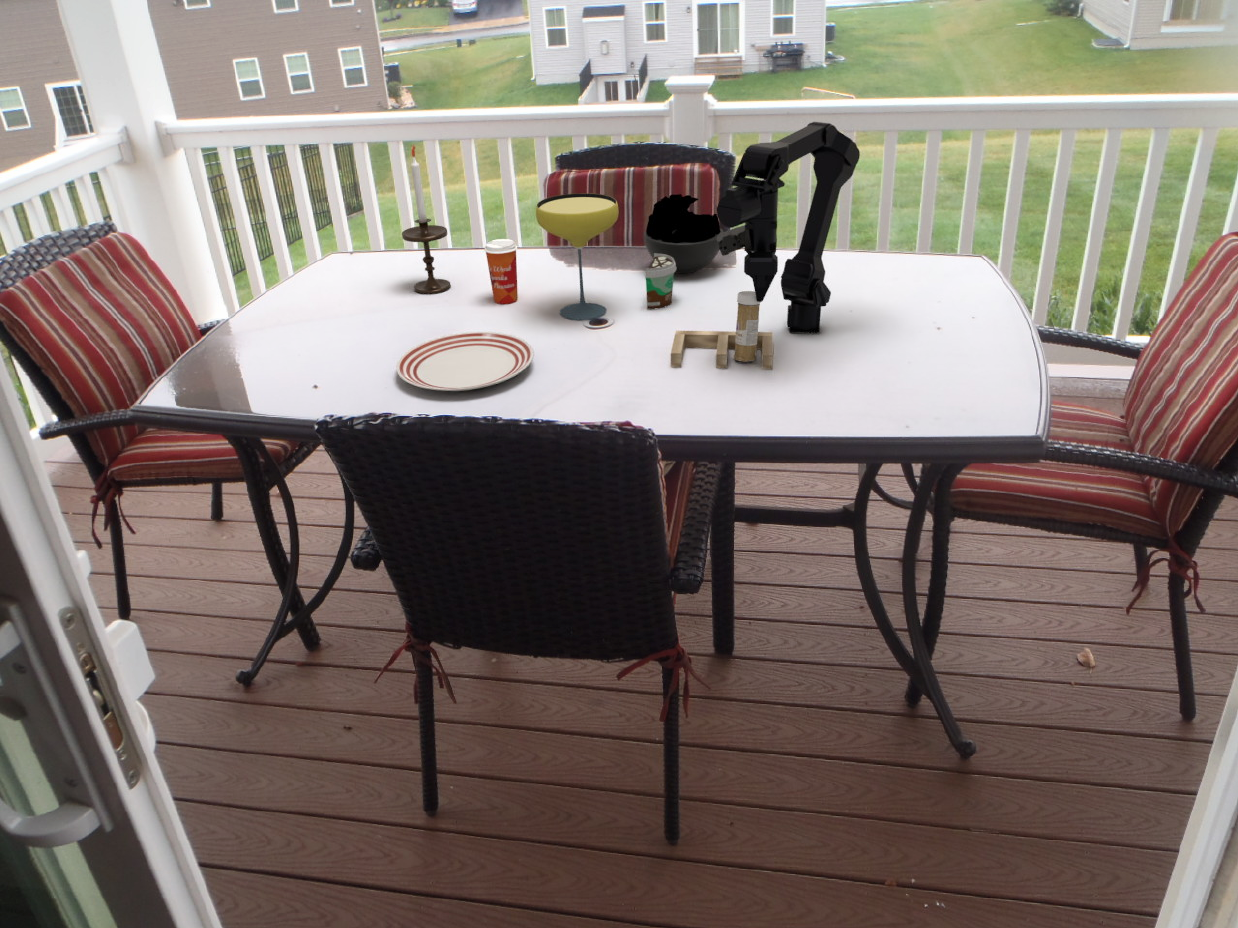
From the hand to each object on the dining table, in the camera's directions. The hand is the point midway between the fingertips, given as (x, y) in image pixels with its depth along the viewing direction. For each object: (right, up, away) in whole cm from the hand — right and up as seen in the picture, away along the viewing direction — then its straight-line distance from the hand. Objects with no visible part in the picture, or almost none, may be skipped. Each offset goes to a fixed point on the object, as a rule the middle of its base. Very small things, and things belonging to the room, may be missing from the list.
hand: (759, 293), depth 184 cm
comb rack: (-7, -12, +5) cm, 15 cm away
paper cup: (-55, +5, +39) cm, 68 cm away
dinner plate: (-59, -15, +4) cm, 61 cm away
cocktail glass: (-36, +1, +30) cm, 47 cm away
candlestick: (-75, +10, +49) cm, 90 cm away
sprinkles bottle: (-3, -13, +3) cm, 14 cm away
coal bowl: (-11, +15, +53) cm, 56 cm away
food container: (-18, +4, +34) cm, 38 cm away
